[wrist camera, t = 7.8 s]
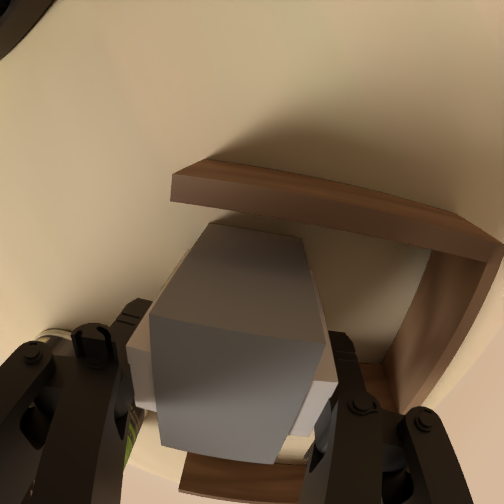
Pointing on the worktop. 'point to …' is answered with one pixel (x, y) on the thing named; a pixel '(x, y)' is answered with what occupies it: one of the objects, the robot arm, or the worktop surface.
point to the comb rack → (413, 327)
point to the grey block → (235, 344)
